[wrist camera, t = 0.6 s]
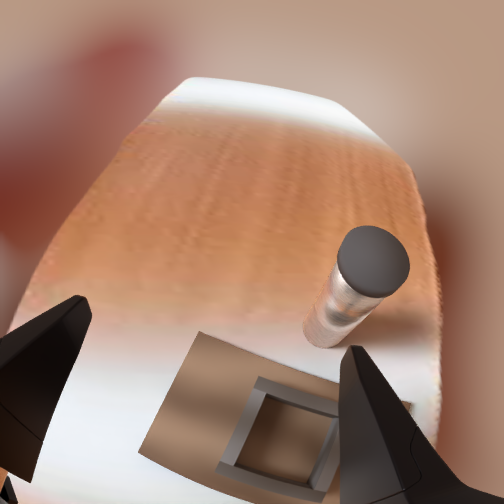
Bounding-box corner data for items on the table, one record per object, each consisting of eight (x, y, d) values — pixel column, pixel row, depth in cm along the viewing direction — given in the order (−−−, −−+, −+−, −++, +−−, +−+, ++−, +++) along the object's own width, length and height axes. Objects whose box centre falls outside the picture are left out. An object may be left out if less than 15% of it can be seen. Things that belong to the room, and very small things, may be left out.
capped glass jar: (351, 345, 24) (419, 284, 14) (305, 353, 24) (354, 295, 14) (340, 303, 27) (394, 224, 17) (296, 308, 26) (332, 227, 16)
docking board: (361, 520, 14) (379, 530, 11) (142, 451, 18) (126, 454, 15) (404, 404, 21) (425, 399, 18) (200, 335, 24) (195, 321, 21)
